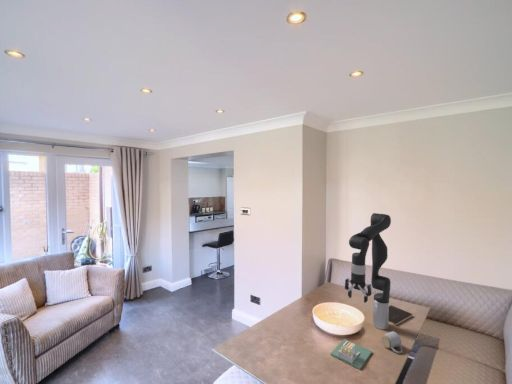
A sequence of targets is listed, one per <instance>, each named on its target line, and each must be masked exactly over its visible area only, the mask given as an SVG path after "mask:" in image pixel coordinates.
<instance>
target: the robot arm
mask: <svg viewBox="0 0 512 384" xmlns="http://www.w3.org/2000/svg"><path fill="white" fill-rule="evenodd" d="M391 222H392V219H391V216H390V215H389V214H385V213H375V212H374V213H372V214H371V216H370V225H369V226H367V227H365V228H364V229H362V230H361V231H360V232H358V233H356V234H353V235H351V236H350V238H349V240H348V245H349V246H350V248H352V249H355V250H358V251H359V252H354V253H352V255H351V265H350V278H348V277H347V278H346V279H345V282H344V290H347V296H348V298H349V299H351V298H352V295H353V294H352V293H353V291H352V290H353V289H354V290H357V291H360V292H361V293H362V294H363V295H364V296H363V302H364V303H367V302H368V300H369V299H368V298H369V297H370V296H371V295H372V289H375V290H378V291H382V292H378V293H375V294H373V309H372V310H373V311H372V325H373V326H374V328H376V329H379V330H382V331H383V330H389V323H388V322H389V306H390V295H391V279H390V278H389V277H387V276H382V275H380V274H379V271H380V269H381V267H382V266H383V265H384V264H385V262H387V259H388V246H387V244H386V243H385V241H384V240H383V238H382V236H381V234H380V233H382V232H384V231H385V230H388V228H389V227H390V226H391ZM370 242H371V261H372V264H371V266H372V267H371V281H370V282H371V284H367V283H366V271H367V270H366V258H367V253H368V250H369V247H370ZM350 284H351V286H350V287H349V285H350Z"/></svg>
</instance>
